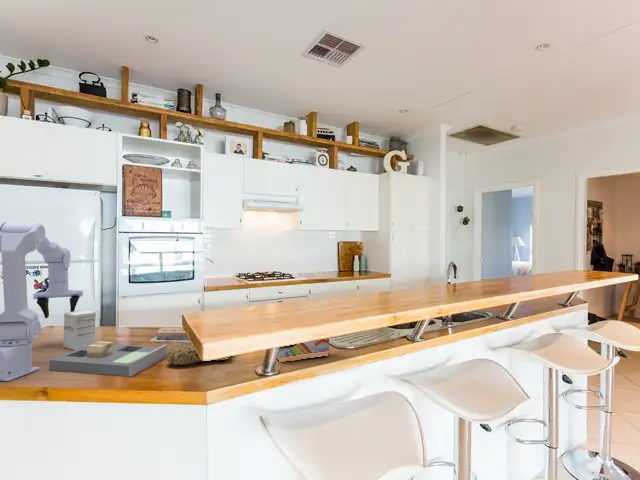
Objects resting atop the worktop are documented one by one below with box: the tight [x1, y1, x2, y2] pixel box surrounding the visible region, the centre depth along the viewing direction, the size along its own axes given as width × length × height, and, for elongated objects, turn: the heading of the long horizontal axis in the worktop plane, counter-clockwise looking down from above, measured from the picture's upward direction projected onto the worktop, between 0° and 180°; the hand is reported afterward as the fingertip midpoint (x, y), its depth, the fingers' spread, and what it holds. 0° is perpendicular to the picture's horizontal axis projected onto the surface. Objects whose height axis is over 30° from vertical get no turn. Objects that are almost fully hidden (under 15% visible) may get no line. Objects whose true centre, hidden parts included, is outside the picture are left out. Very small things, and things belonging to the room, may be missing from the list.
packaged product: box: [148, 326, 191, 344], centre depth 139 cm, size 18×5×10 cm
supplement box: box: [62, 309, 97, 351], centre depth 127 cm, size 7×7×13 cm
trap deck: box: [48, 343, 168, 377], centre depth 111 cm, size 18×27×4 cm, turn 83°
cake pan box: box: [278, 337, 330, 358], centre depth 119 cm, size 19×5×18 cm, turn 112°
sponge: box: [165, 343, 231, 366], centre depth 114 cm, size 13×8×20 cm
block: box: [87, 340, 115, 358], centre depth 110 cm, size 5×5×4 cm
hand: (59, 316), depth 128 cm, fingers open, 7 cm apart
